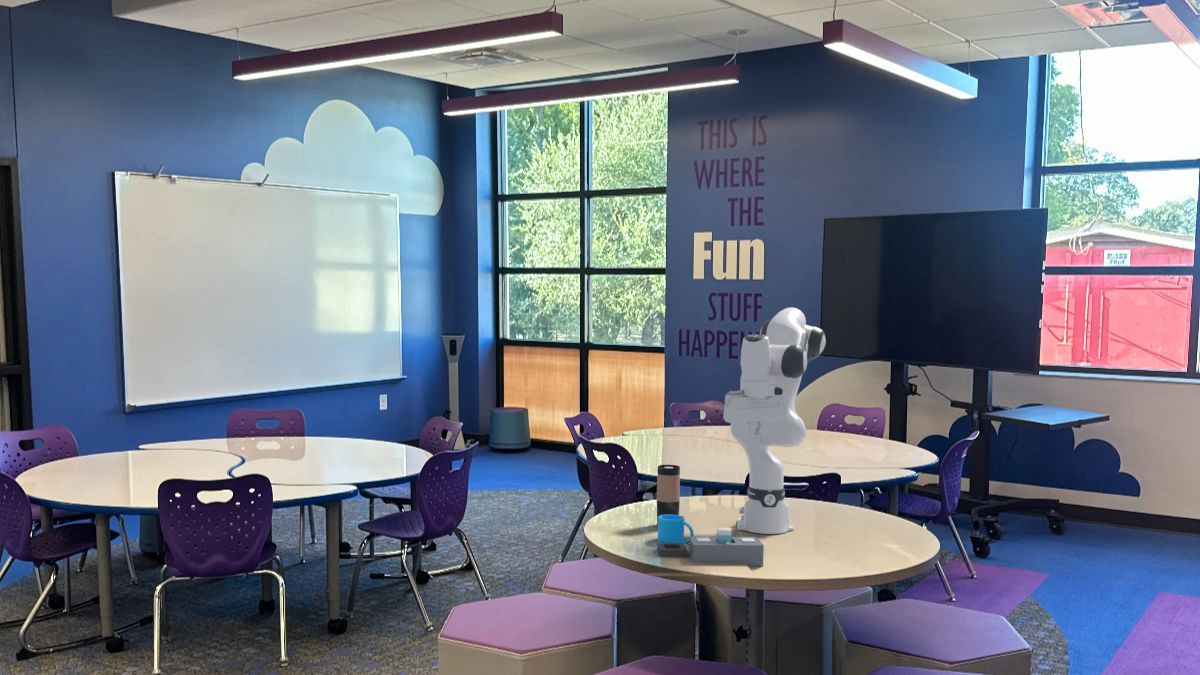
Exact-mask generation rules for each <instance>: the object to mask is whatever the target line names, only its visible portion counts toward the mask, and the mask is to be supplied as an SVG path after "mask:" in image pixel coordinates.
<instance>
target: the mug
mask: <svg viewBox="0 0 1200 675" xmlns="http://www.w3.org/2000/svg"><path fill="white" fill-rule="evenodd" d="M685 526H686V527H687V529H688V530H689V532H690V533H689V536H692V537H694V529H693V527H692V525H690V524H689V523H687V522H686V521H685V517H684V516H683V515H680V514H679V515H670V514H669V515H660V516H658V526H657V541H658V542H659V543H684V544H689V538H688V539H687V540H685Z"/></svg>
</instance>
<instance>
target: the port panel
mask: <svg viewBox="0 0 1200 675" xmlns="http://www.w3.org/2000/svg"><path fill="white" fill-rule="evenodd" d="M688 539H689V542H688V554H689V557H690V559H691V561H692V563H698V564H699V563H702V564H703V563H705V564H709V563H711V564H712V563H713V564H714V563H717V564H718V563H719V564H721V563H724V564H726V563H728V564H729V563H730V564H735V563H736V564H737V563H738V564H746V565H747V567H764V544H763V543H762V541H760V539H759V538H758V536H731V543H730V542H726V543H718V541H717V536H693V537H692V536H690V535H689V537H688Z"/></svg>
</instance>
